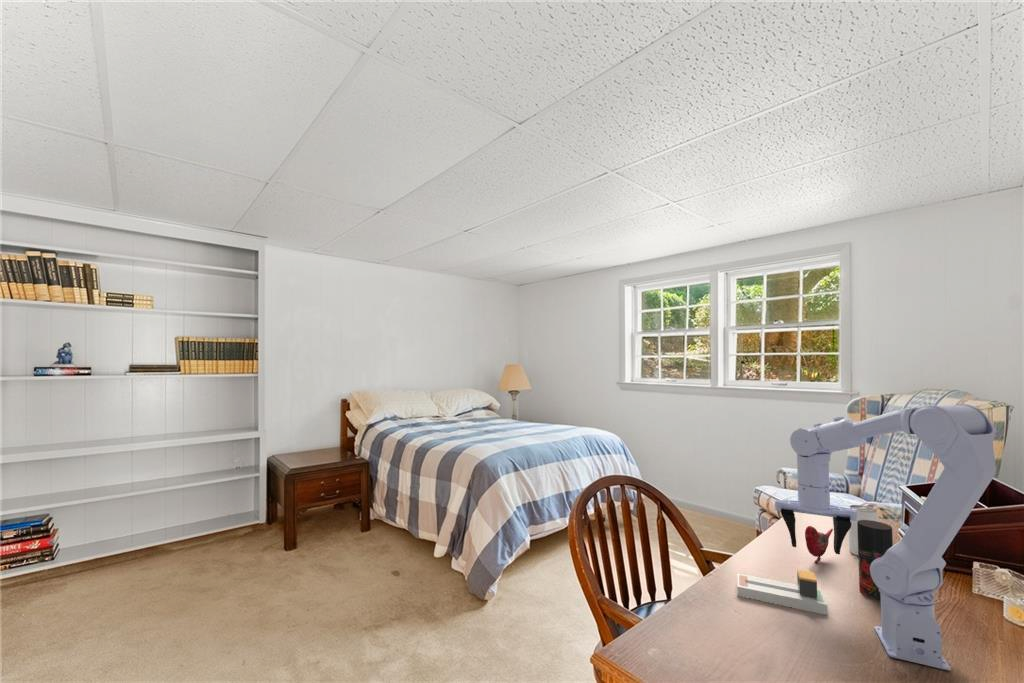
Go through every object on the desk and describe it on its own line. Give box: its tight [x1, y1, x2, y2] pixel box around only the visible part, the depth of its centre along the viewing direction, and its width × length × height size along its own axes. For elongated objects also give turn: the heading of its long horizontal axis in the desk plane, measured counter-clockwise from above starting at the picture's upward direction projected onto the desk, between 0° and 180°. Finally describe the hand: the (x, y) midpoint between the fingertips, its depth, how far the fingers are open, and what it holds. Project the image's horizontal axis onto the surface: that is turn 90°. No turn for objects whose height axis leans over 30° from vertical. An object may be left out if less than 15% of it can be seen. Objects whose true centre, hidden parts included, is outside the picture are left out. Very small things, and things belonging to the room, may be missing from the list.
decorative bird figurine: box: [804, 525, 834, 565], centre depth 114 cm, size 3×18×10 cm, turn 127°
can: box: [848, 504, 880, 557], centre depth 119 cm, size 6×6×12 cm
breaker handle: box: [796, 569, 818, 597], centre depth 94 cm, size 4×3×3 cm
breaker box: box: [736, 573, 829, 616], centre depth 96 cm, size 7×16×2 cm, turn 63°
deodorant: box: [857, 520, 894, 602], centre depth 98 cm, size 6×6×15 cm
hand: (815, 548), depth 96 cm, fingers open, 7 cm apart
